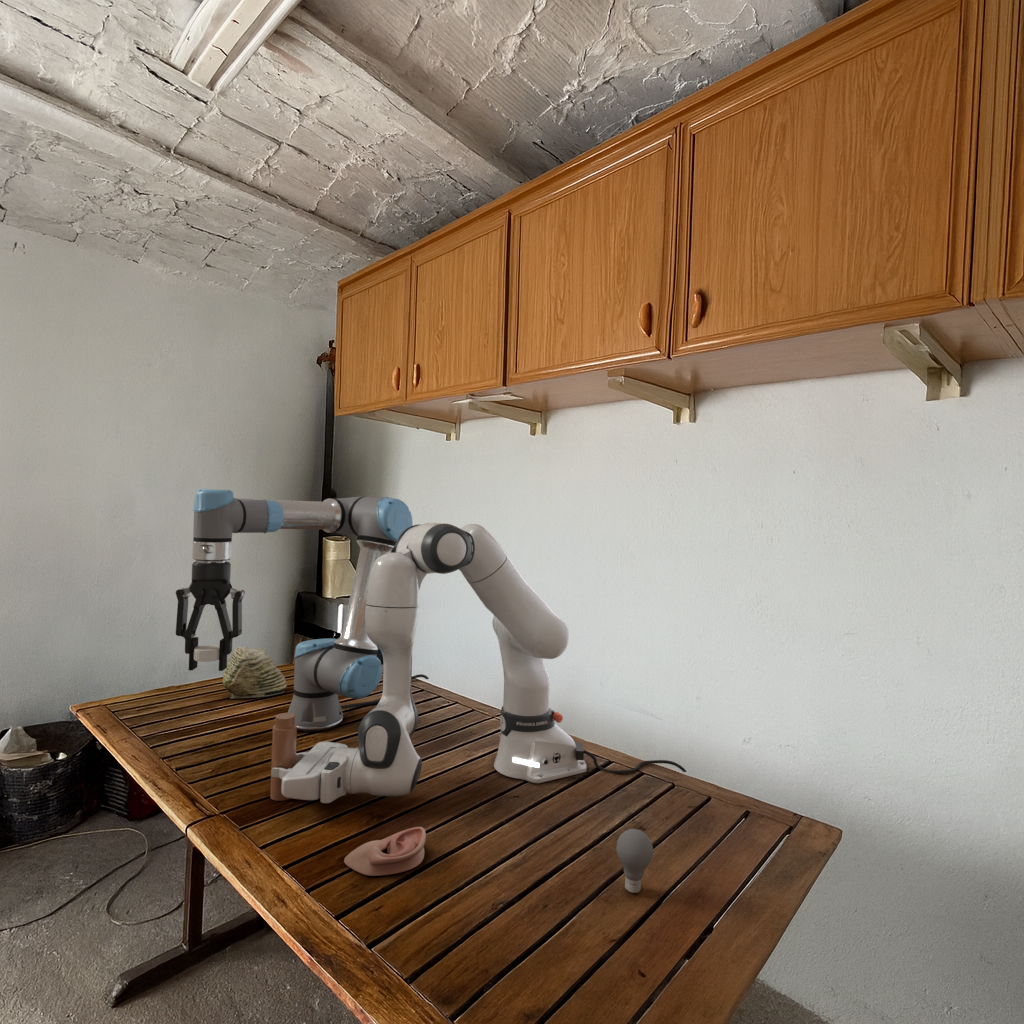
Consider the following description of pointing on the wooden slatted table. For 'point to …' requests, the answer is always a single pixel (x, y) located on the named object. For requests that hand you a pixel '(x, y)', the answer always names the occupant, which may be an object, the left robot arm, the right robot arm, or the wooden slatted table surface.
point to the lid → (206, 653)
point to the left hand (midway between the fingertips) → (207, 668)
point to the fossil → (252, 674)
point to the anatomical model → (389, 853)
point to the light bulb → (634, 857)
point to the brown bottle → (282, 750)
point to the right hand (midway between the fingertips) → (279, 764)
